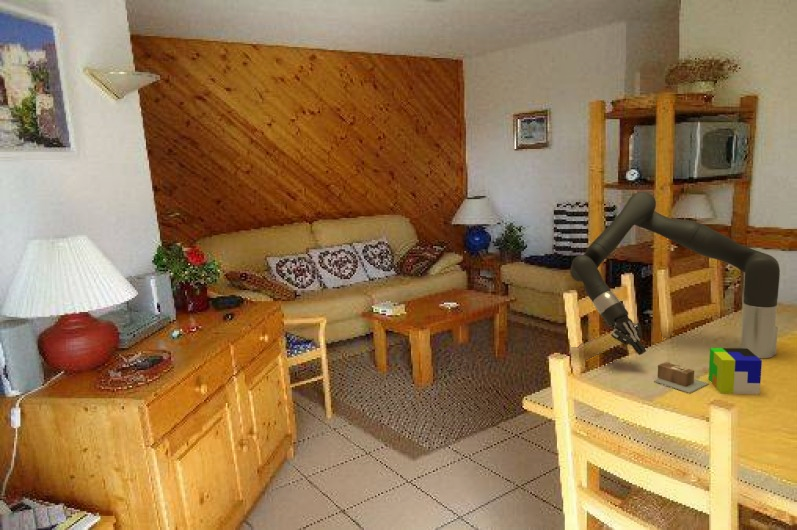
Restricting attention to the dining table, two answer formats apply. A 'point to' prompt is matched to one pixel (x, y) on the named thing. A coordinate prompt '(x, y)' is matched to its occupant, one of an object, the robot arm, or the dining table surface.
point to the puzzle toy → (735, 370)
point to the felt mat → (688, 389)
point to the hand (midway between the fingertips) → (642, 353)
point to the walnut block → (676, 374)
